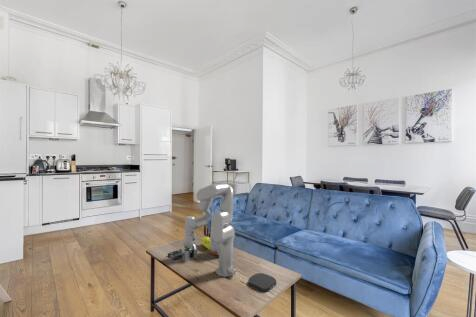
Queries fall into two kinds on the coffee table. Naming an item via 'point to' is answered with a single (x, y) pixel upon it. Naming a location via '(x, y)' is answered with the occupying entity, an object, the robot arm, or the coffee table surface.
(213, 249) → the cracker box
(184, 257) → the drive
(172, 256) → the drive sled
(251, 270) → the coffee table surface
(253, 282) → the media streaming box
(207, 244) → the yellow toy chassis
